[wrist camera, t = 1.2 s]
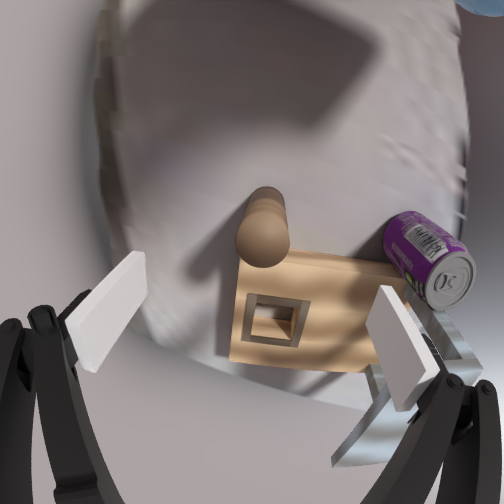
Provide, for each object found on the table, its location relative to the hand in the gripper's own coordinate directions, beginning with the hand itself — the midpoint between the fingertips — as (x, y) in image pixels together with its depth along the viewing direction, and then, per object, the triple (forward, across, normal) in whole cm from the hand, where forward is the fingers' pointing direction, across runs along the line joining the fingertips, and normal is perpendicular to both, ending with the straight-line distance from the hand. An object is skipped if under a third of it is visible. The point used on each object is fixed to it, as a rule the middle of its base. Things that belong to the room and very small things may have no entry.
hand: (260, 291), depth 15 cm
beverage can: (+19, +18, -1) cm, 26 cm away
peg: (+18, 0, 0) cm, 19 cm away
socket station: (+18, +9, -13) cm, 24 cm away
